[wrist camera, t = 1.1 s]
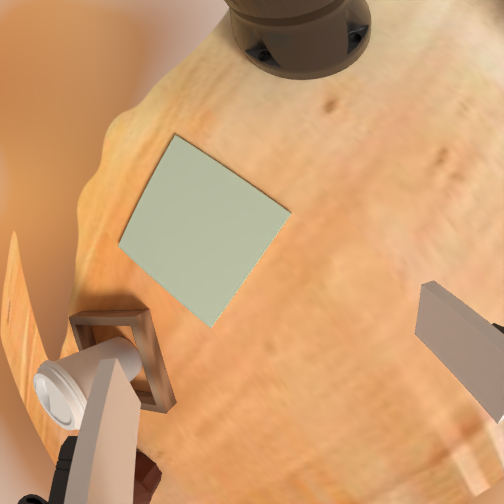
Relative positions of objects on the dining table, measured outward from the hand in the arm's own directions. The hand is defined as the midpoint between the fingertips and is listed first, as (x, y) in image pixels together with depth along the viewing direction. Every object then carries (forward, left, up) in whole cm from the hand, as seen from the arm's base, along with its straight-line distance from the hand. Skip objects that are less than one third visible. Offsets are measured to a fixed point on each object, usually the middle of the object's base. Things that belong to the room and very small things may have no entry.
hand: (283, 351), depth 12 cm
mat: (-5, -14, -20) cm, 25 cm away
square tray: (+11, -30, -20) cm, 38 cm away
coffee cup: (+11, -30, -20) cm, 38 cm away
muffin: (+36, -37, -20) cm, 55 cm away
